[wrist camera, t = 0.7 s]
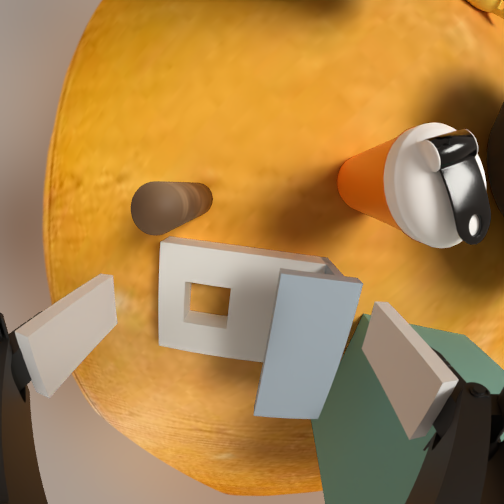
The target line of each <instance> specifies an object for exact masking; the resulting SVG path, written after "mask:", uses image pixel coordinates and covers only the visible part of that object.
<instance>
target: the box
mask: <svg viewBox="0 0 504 504" xmlns="http://www.w3.org/2000/svg"><path fill="white" fill-rule="evenodd" d="M370 318H371V315H367V314H363V315H362V317H361V320H360V322H359V324H358V326H357V329H356V331H355V333H354V335H353V337H352V339H351V341H350V344H349V346H348V348H347V350H346V352H345V354H344V356H343V358H342V360H341V362H340V364H339V366H338V369H337V372H336V374H335V377H334V380H333V383H332V385H331V388H330V390H329V393H328V396H327V398H326V401H325V403H324V406H323V408H322V411H321V413H320V415H319V418H318V419H311V423H312V429H313V434H314V440H315V445H316V451H317V457H318V463H319V469H320V475H321V481H322V487H323V493H324V499H325V504H405V502H406V500H407V498H408V496H409V494H410V492H411V490H412V488H413V486H414V483H415V481H416V479H417V476H418V474H419V472H420V469H421V467H422V464H423V461H424V459H425V456H426V453H427V451H428V448H429V447H428V448H427V449H426V450H425V451H423V449H424V448H425V446H426V445H427V443H428V442H429V441H430V439H431V438H432V437H433V435H434V434H435V432H436V430H435V428H434V426H433V425H432V427H431V428H430V430H429V431H428V433H427V434H426V436H423V437H419V438H415V439H411V440H409V438H408V436H407V434H406V432H405V430H404V428H403V426H402V424H401V422H400V420H399V418H398V416H397V414H396V412H395V410H394V408H393V406H392V404H391V402H390V400H389V399H388V397H387V395H386V393H385V391H384V389H383V387H382V385H381V383H380V381H379V379H378V378H377V376H376V374H375V372H374V370H373V368H372V366H371V365H370V363H369V361H368V359H367V357H366V356H365V354H364V352H363V350H362V346H363V343H364V339H365V336H366V332H367V329H368V325H369V322H370ZM409 325H410V326H411V327H412V328H413V329H414V330H415V331H416V332H417V333H418V334H419V335H420V337H421V338H422V339H423V340H424V341H425V342H426V343H427V344H428V345H429V346H430V347H432V348H433V349H435V350H436V351H438V352H440V353H441V354H442V355H443V357H444V358H445V359H446V361H448V362H449V363H450V364H451V366H452V367H453V368H454V369H455V370H456V371H457V372H458V373H459V375H460V376H461V377H462V378H463V379H464V380H465V381H466V383H468V382H476V383H479V384H482V385H483V386H485V387H486V388H487V389H488V390H489V391H490V394H500V392H501V390H502V389H503V387H504V370H503V369H502V368H501V367H500V366H499V365H498V364H496V363H495V362H494V361H493V360H492V359H491V358H490V357H489V356H488V355H487V354H486V353H484V352H483V351H482V350H481V349H480V348H479V347H478V346H477V345H476V344H474V343H473V342H472V341H471V340H470V339H469V338H468V337H466V336H465V335H462V334H457V333H452V332H447V331H442V330H437V329H432V328H427V327H422V326H417V325H412V324H409ZM500 439H501V442H502V441H503V440H504V433H503V434H502V435H501V437H500Z"/></svg>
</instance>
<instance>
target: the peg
mask: <svg viewBox="0 0 504 504" xmlns="http://www.w3.org/2000/svg"><path fill="white" fill-rule="evenodd" d="M212 201H213V197H212V193H211V191H210V189H209V188H208V187H207V186H206V185H204V184H201V183H189V182H149V183H146V184H144V185H143V186H141V187H140V188H139V189H138V190H137V191H136V193H135V194H134V196H133V199H132V202H131V214H132V218H133V220H134V223H135V224H136V226H137V227H138V228H139V229H140V230H141V231H143V232H145V233H146V234H149V235H162V234H165V233H167V232H169V231H170V230H172V229H174V228H176V227H178V226H180V225H182V224H184V223H186V222H188V221H190V220H192V219H194V218H196V217H198V216H200V215H202V214H204V213H206V212H207V211H208V210H209V209H210V207H211V205H212Z"/></svg>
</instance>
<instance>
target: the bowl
mask: <svg viewBox="0 0 504 504" xmlns="http://www.w3.org/2000/svg"><path fill="white" fill-rule="evenodd" d="M487 167H488V175H489V181H490V186H491V190H492V193H493V196H494V199H495V201H496V204H497V206H498V208H499V210H500V211H501V213H502V215H503V216H504V102H503V105H502V107H501V110H500V112H499V114H498V116H497V119H496V121H495V123H494V125H493V128H492V130H491V133H490V136H489V141H488V148H487Z"/></svg>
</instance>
